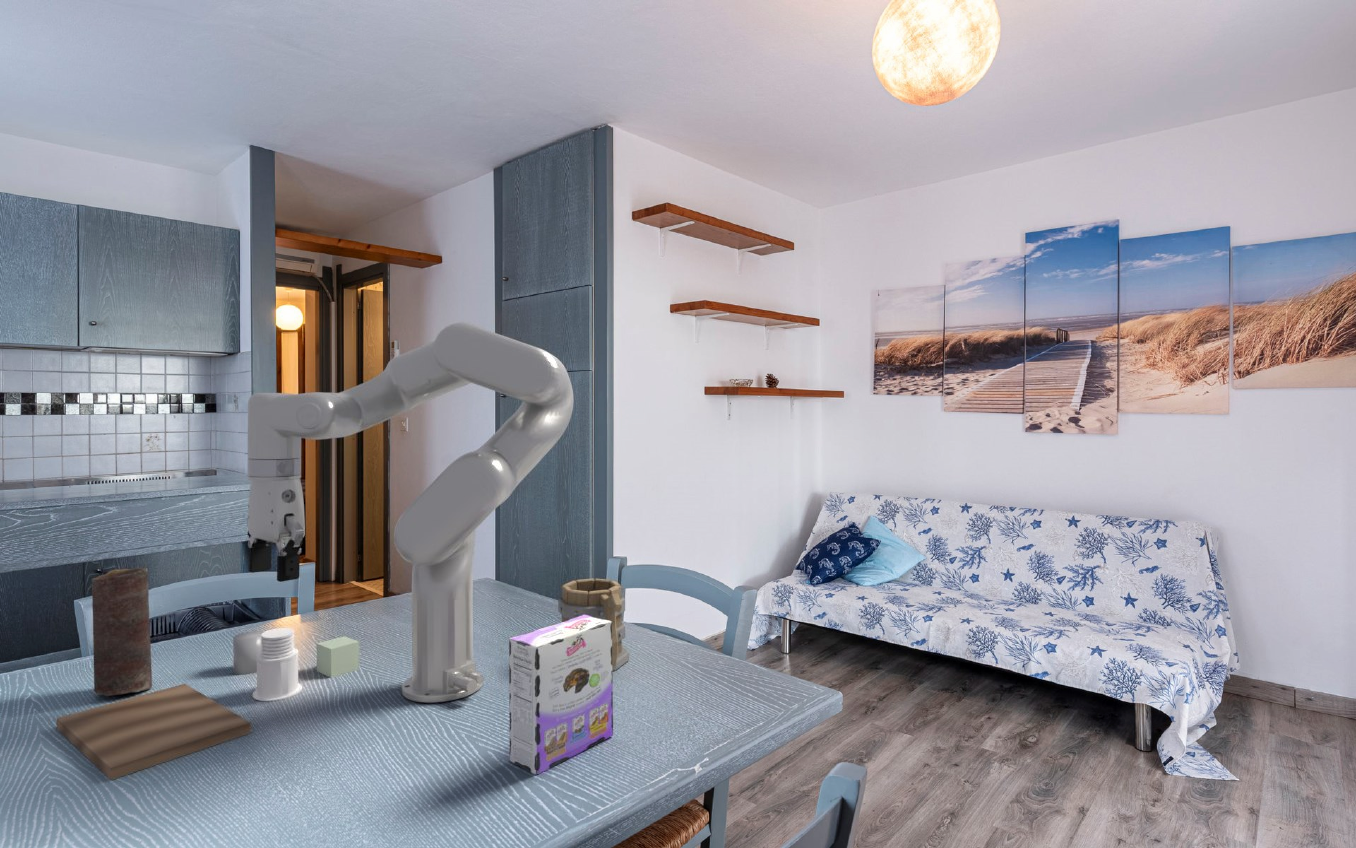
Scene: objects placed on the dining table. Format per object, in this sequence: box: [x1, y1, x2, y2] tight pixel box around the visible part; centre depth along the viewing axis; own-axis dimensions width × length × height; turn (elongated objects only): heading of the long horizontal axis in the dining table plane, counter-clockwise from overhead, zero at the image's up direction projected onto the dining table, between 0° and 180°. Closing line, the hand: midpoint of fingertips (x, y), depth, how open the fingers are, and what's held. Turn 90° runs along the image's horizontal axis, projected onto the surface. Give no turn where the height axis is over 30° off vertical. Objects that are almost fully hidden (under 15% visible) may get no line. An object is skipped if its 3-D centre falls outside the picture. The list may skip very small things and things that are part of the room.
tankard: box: [557, 577, 630, 672], centre depth 126 cm, size 20×13×15 cm, turn 23°
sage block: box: [316, 635, 360, 679], centre depth 125 cm, size 5×5×5 cm
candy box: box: [508, 615, 614, 776], centre depth 96 cm, size 14×6×16 cm, turn 141°
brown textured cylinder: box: [91, 567, 153, 697], centre depth 115 cm, size 8×7×20 cm
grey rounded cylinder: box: [232, 630, 265, 676], centre depth 125 cm, size 5×5×6 cm
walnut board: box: [56, 683, 252, 781], centre depth 101 cm, size 24×16×2 cm, turn 53°
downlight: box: [252, 627, 303, 702], centre depth 115 cm, size 8×7×10 cm
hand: (273, 575), depth 114 cm, fingers open, 9 cm apart
